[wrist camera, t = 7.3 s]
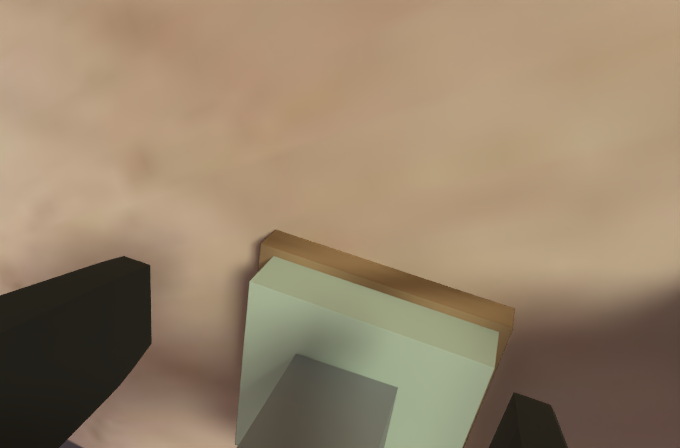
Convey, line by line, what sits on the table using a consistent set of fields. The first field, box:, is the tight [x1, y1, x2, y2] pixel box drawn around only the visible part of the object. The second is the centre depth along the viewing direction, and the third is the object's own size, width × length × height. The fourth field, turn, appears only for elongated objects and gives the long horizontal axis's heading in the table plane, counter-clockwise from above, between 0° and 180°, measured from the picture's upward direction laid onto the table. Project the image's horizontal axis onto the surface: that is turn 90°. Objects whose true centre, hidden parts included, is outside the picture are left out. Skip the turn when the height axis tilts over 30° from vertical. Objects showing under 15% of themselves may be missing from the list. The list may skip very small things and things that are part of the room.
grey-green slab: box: [235, 256, 499, 448], centre depth 21 cm, size 9×9×2 cm
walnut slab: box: [258, 230, 515, 448], centre depth 23 cm, size 10×10×2 cm
